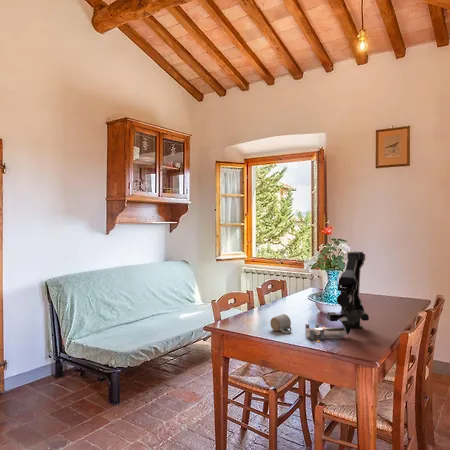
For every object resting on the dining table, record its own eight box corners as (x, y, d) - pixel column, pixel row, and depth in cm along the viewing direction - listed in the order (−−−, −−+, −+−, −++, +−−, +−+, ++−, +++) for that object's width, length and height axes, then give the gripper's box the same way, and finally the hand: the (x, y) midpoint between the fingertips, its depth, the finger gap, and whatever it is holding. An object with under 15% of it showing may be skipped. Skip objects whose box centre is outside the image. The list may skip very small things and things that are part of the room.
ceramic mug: (269, 329, 190) (269, 314, 189) (280, 326, 194) (281, 312, 194) (283, 335, 181) (283, 320, 181) (295, 332, 186) (295, 317, 185)
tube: (308, 339, 175) (308, 329, 175) (305, 336, 180) (305, 326, 180) (345, 338, 177) (345, 328, 176) (341, 335, 181) (341, 325, 181)
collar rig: (304, 332, 185) (304, 322, 185) (317, 332, 186) (317, 322, 186) (311, 342, 171) (312, 331, 171) (325, 342, 171) (326, 331, 171)
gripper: (333, 306, 170) (333, 340, 170) (374, 305, 170) (373, 339, 171) (326, 300, 181) (326, 332, 181) (364, 300, 182) (363, 331, 182)
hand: (347, 334), depth 179 cm, fingers closed
